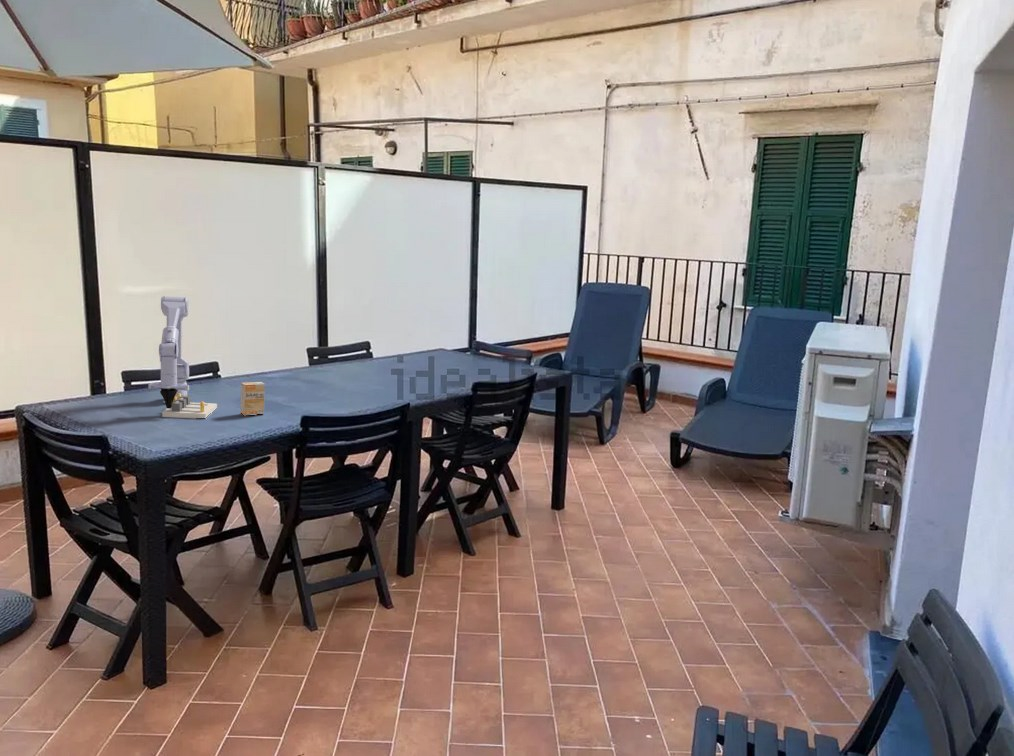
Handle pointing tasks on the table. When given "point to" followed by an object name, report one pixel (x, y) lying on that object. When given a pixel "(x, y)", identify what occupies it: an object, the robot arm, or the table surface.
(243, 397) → the supplement box
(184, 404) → the middle knob
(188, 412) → the switch panel
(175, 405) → the front knob
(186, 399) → the rear knob
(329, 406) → the table surface
